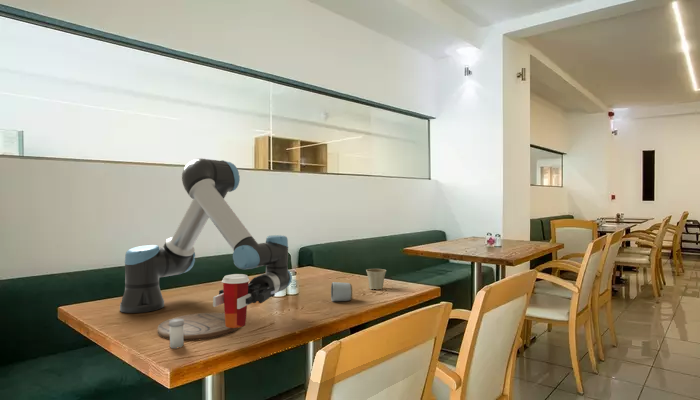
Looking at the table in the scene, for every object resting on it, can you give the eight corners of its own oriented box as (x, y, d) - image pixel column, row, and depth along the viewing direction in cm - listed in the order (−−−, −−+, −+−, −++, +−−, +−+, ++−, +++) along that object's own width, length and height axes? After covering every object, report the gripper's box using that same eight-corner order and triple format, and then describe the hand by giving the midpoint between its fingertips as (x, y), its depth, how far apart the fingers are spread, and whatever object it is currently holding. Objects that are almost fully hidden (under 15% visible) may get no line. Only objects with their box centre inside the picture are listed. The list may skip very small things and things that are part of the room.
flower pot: (376, 286, 204) (376, 267, 204) (390, 289, 197) (390, 270, 197) (361, 288, 198) (361, 270, 198) (375, 292, 191) (375, 272, 191)
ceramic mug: (353, 302, 171) (353, 283, 171) (332, 303, 170) (332, 283, 170) (348, 297, 182) (348, 278, 182) (329, 297, 180) (329, 279, 180)
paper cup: (247, 320, 127) (247, 273, 127) (251, 327, 120) (251, 277, 120) (220, 322, 124) (220, 274, 124) (222, 330, 117) (222, 279, 117)
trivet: (208, 314, 155) (208, 309, 155) (256, 325, 141) (256, 320, 141) (141, 331, 135) (141, 325, 135) (189, 347, 120) (189, 340, 120)
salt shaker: (166, 347, 119) (166, 321, 119) (175, 343, 123) (175, 318, 123) (178, 349, 118) (178, 322, 118) (186, 344, 122) (186, 319, 122)
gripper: (291, 299, 137) (258, 319, 115) (236, 295, 142) (194, 313, 120) (292, 276, 137) (259, 291, 115) (237, 272, 142) (195, 286, 120)
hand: (226, 302), depth 117 cm, fingers closed on paper cup, 7 cm apart
